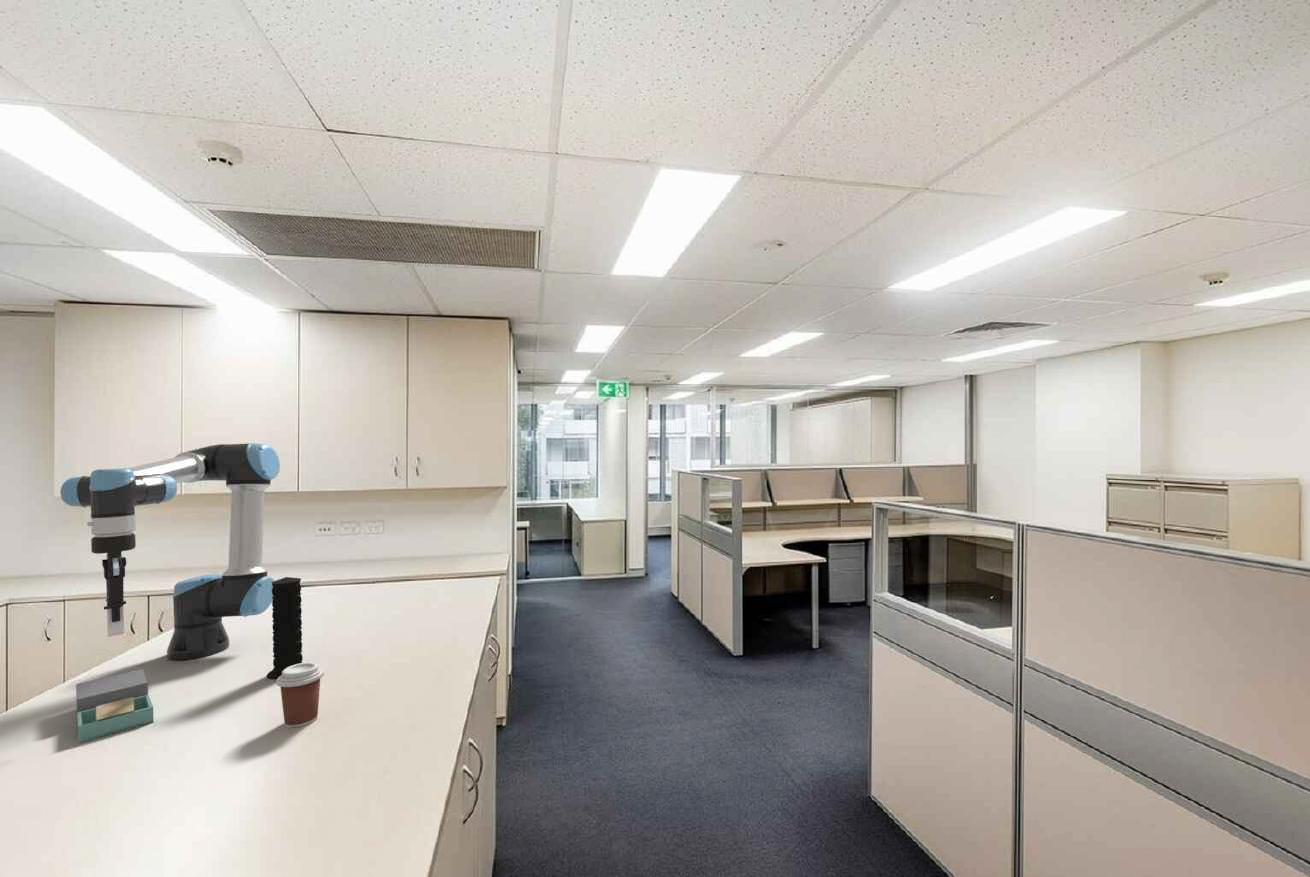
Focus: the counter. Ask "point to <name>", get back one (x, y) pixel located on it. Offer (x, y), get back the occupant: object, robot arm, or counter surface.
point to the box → (114, 720)
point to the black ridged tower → (286, 625)
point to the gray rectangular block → (110, 690)
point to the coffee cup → (300, 693)
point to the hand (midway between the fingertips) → (115, 634)
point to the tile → (114, 708)
